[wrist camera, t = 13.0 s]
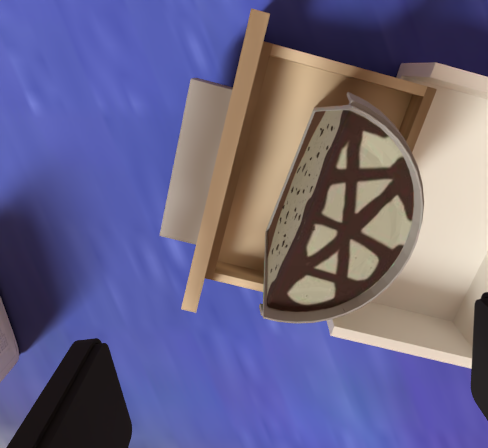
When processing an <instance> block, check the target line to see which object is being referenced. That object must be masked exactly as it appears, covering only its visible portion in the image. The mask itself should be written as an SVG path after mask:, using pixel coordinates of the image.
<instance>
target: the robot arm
mask: <svg viewBox="0 0 488 448" xmlns="http://www.w3.org/2000/svg"><path fill="white" fill-rule="evenodd" d="M471 392H472V395H473V398H474V400H475V402H476V404H477V405H478V407H479V408H480V410H481V411H482V413H483V414H484V416H485V417H486V419H487V420H488V292H485V293H483V294H482V296H481V299H477V300H476V301H475V305H474V326H473V348H472V370H471ZM131 435H132V424H131V420H130V417H129V413H128V410H127V407H126V403H125V400H124V397H123V393H122V390H121V387H120V383H119V380H118V377H117V373H116V370H115V367H114V363H113V360H112V357H111V353H110V350H109V347H108V345H107V344H106V343H101V341H100V340H99V339H97V338H95V339H87V340H78V341H75V342H74V343H73V344H72V346H71V347H70V349H69V350H68V352H67V354H66V355H65V357H64V358H63V360H62V361H61V363H60V365H59V366H58V368H57V369H56V371H55V372H54V374H53V375H52V377H51V379H50V380H49V382H48V383H47V385H46V386H45V388H44V390H43V391H42V393H41V394H40V396H39V397H38V399H37V401H36V402H35V404H34V405H33V407H32V408H31V410H30V412H29V413H28V415H27V416H26V418H25V419H24V421H23V423H22V424H21V426H20V427H19V429H18V430H17V432H16V434H15V435H14V437H13V438H12V440H11V441H10V443H9V445H8V446H7V448H128V446H129V442H130V439H131Z"/></svg>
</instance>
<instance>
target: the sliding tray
mask: <svg viewBox="0 0 488 448" xmlns="http://www.w3.org/2000/svg"><path fill="white" fill-rule="evenodd" d="M269 16H270V14H269V13H265V12H262V11H258V10H255V9H251V12H250V17H249V21H248V25H247V30H246V34H245V38H244V42H243V47H242V51H241V55H240V60H239V64H238V68H237V72H236V77H235V81H234V85H233V87H229V86H225V85H221V84H218V83H214V82H210V81H207V80H203V79H199V78H192V79H191V81H190V86H189V91H188V96H187V101H186V106H185V111H184V116H183V121H182V126H181V131H180V136H179V141H178V146H177V151H176V156H175V161H174V166H173V171H172V176H171V181H170V186H169V191H168V196H167V201H166V206H165V211H164V216H163V221H162V226H161V231H160V236H163V237H167V238H171V239H175V240H179V241H183V242H188V243H192V244H196V248H195V252H194V256H193V261H192V265H191V269H190V274H189V278H188V282H187V286H186V291H185V295H184V299H183V304H182V308H181V309H183V310H187V311H191V312H196V310H197V306H198V302H199V298H200V294H201V290H202V286H203V282H204V278H207V279H211V280H215V281H219V282H223V283H228V284H232V285H236V286H240V287H244V288H249V289H253V290H257V291H261V292H263V286H264V255H265V231H266V229H267V226H268V224H269V221H270V219H271V216H272V214H273V211H274V208H275V206H276V203H277V201H278V198H279V196H280V193H281V191H282V188H283V185H284V183H285V180H286V178H287V175H288V173H289V170H290V168H291V165H292V162H293V160H294V157H295V155H296V152H297V150H298V147H299V145H300V142H301V140H302V137H303V134H304V132H305V129H306V127H307V124H308V122H309V119H310V117H311V114H312V111H313V109H314V107H327V106H341V105H349V100H348V97H347V93H348V92H349V93H352V94H354V95H356V96H358V97H360V98H362V99H364V100H366V101H367V102H369V103H370V104H371V105H373V106H374V107H376V108H377V109H379V110H380V111H381V112H382V113H383V114H384V115H385V116H386V117H387V118H388V119H389V120H390V121H391V122H392V123H393V124H394V125H395V126H396V128H397V129H398V130H399V132H400V133H401V135H402V136H403V137H404V139H405V140H406V142H407V144H408V146H409V148H410V150H411V152H413V149H414V146H415V144H416V141H417V139H418V136H419V134H420V131H421V129H422V126H423V124H424V121H425V118H426V116H427V113H428V111H429V108H430V106H431V103H432V101H433V98H434V96H435V93H436V91H437V89H435V88H431V87H428V86H424V85H420V84H417V83H413V82H409V81H406V80H402V79H399V78H395V77H391V76H388V75H384V74H380V73H377V72H373V71H370V70H366V69H362V68H359V67H355V66H351V65H348V64H344V63H340V62H337V61H333V60H330V59H326V58H322V57H319V56H315V55H311V54H308V53H304V52H300V51H297V50H293V49H290V48H286V47H282V46H279V45H275V44H271V43H268V42H264V37H265V33H266V29H267V25H268V21H269Z"/></svg>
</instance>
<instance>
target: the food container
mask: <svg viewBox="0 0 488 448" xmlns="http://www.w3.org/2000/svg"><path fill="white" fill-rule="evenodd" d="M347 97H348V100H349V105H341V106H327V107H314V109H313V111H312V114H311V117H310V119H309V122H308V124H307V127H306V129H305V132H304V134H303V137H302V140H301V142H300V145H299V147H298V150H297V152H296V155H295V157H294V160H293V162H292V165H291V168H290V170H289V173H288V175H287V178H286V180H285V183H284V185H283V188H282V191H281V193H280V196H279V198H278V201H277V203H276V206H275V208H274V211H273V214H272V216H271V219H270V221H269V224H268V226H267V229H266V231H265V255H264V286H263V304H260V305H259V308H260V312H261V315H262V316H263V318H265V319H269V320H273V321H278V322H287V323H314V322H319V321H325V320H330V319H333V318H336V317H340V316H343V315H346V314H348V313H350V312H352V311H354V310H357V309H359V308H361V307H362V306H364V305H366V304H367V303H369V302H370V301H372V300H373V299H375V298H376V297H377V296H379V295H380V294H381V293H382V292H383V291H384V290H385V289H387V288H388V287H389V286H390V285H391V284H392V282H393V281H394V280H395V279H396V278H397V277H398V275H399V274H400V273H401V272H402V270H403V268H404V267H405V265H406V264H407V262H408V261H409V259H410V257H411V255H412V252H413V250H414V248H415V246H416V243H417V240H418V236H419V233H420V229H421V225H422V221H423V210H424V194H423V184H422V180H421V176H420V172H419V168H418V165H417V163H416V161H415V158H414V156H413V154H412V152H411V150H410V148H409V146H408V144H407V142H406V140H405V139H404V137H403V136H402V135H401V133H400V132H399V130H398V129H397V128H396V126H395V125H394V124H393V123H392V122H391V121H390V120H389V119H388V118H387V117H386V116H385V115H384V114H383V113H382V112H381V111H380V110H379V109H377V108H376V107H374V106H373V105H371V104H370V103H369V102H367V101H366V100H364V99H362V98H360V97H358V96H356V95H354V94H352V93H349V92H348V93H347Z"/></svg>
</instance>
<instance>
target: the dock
mask: <svg viewBox="0 0 488 448" xmlns="http://www.w3.org/2000/svg"><path fill="white" fill-rule="evenodd" d="M396 78H399V79H402V80H406V81H409V82H413V83H417V84H420V85H424V86H428V87H431V88H435V89H437V91H436V93H435V96H434V98H433V101H432V103H431V106H430V108H429V111H428V113H427V116H426V118H425V121H424V124H423V126H422V129H421V131H420V134H419V136H418V139H417V141H416V144H415V146H414V149H413V152H412V154H413V156H414V158H415V161H416V163H417V165H418V168H419V172H420V176H421V180H422V184H423V194H424V210H423V221H422V225H421V229H420V233H419V236H418V240H417V243H416V246H415V248H414V250H413V252H412V255H411V257H410V259H409V261H408V262H407V264H406V265H405V267H404V268H403V270H402V272H401V273H400V274H399V275H398V277H397V278H396V279H395V280H394V281H393V282H392V284H391V285H390V286H389V287H388V288H387V289H385V290H384V291H383V292H382V293H381V294H380V295H379V296H377V297H376V298H375V299H373V300H372V301H370V302H369V303H367V304H366V305H364V306H362V307H361V308H359V309H357V310H354V311H352V312H350V313H348V314H346V315H343V316H340V317H336V318H333V319H330V320H326V321H327V324H328V328H329V331H330V335H331V336H334V337H339V338H343V339H347V340H351V341H356V342H360V343H364V344H369V345H373V346H377V347H381V348H386V349H390V350H394V351H399V352H403V353H407V354H411V355H416V356H420V357H424V358H429V359H433V360H437V361H441V362H446V363H450V364H454V365H459V366H463V367H467V368H471V369H472V348H473V326H474V305H475V301H476V300H477V299H481V296H482V294H483V293H485V292H488V77H486V76H483V75H479V74H476V73H472V72H468V71H465V70H461V69H458V68H454V67H450V66H447V65H443V64H440V63H436V62H432V63H401V65H400V68H399V70H398V73H397V76H396Z"/></svg>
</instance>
